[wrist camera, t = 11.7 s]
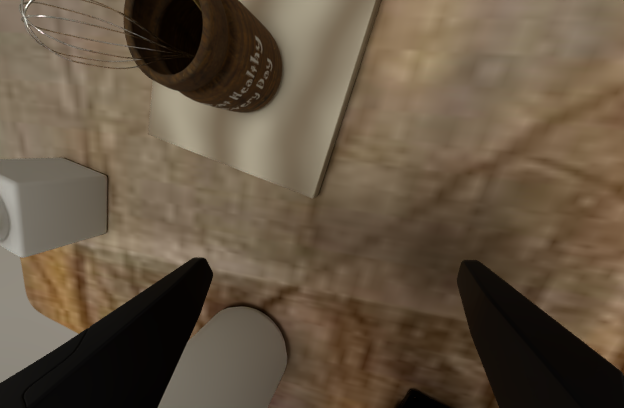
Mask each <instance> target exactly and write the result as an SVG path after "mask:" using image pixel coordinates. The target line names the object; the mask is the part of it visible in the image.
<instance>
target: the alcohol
mask: <svg viewBox="0 0 624 408" xmlns="http://www.w3.org/2000/svg"><path fill="white" fill-rule="evenodd" d="M286 365H287V352H286V346H285V341H284V338H283V335H282V333H281V331H280V330H279V328H278V327H277V325H276V324H275V323H274V322H273V321H272V320H271V319H270V318H269V317H268V316H267V315H265V314H264V313H262V312H261V311H259V310H256V309H254V308H250V307H244V306H239V307H231V308H226V309H224V310H221V311H220V312H219V313H217V314H216V315H215V316H214V317H213V318H212V319H211V320H210V321H209V322H208V323H207V324H206V325H205V326H204V327H202V328H201V329H200V330H199V331H198V332H197V333H196V334H195V335H194V336H193V337H192V338H191V339H190V340H189V341H188V342H187V344H186V347H185V349H184V351H183V353H182V355H181V358H180V360H179V362H178V364H177V366H176V368H175V371H174V373H173V375H172V377H171V379H170V382H169V384H168V386H167V388H166V390H165V393H164V395H163V397H162V399H161V401H160V404H159V406H158V408H268V406H269V404H270V401H271V399H272V397H273V395H274V393H275V391H276V389H277V386H278V384H279V382H280V380H281V378H282V376H283V374H284V372H285V369H286Z"/></svg>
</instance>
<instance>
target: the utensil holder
mask: <svg viewBox="0 0 624 408" xmlns="http://www.w3.org/2000/svg"><path fill="white" fill-rule="evenodd" d="M33 1H35V0H31V1H30V2H24V0H21V4H20V5H19V11H20V13H21V14H22V16H23V17H22V18H21V20H22V22H24V24H25V28H26V30H27V32H28V33H29V35H30V36H31V37H32V38H33V39H34V40H35V41H36V42H37V43H38V44H40V45H41V46H43V47H45V48H46V49H48V50H50V51H52V52H53V53H55V54H56V55H58V56H60V57H62V58H64V59H67V58H65V57H63V56H61V55H59V54H62V55H67V56H72V57H77V58H82V59H88V60H94V61H102V62H128V61H135V62H136V64H137V65H138V66H135V67H128V68H114V67H105V66H99V65H93V64H88V63H82V62H78V61H73V60H70V59H67V60H69V61H72V62H76V63H81V64H86V65H92V66H98V67H104V68H112V69H130V68H136V67H139V68H140V69H141V70H142V72H143V73H144V74H145V75H147V76H148V77H149V78H151V79H152V80H154V81H155V82H157V83H159V84H161V85H163V86H165V87H167V88H169V89H172V90H176V91H179V92H180V93H182V94H183V95H184V96H186V97H188V98H190V99H192V100H194V101H196V102H199V103H202V104H205V105H208V106H212V107H216V108H220V109H224V110H229V111H233V112H240V113H248V112H253V111H256V110H259V109H261V108H262V107H264V106H265V105H267V104H268V103H269V102H270V101H271V99H272V98H273V97H274V95H275V94H276V92H277V90H278V88H279V85H280V82H281V77H282V58H281V54H280V50H279V48H278V45H277V43H276V41H275V39H274V38H273V36H272V35H271V33H270V32H269V31H268V30H267V28H266V27H265V26H264V25H263V24H262V23H261V22H260V21H259V20H258V19H257V18H256V17H255V16H254V15H253V14H252V13H251V12H250V11H249V10H248V9H247V8H246V7H245V6H244V5H243V4H242V3H241V2H240V1H239V0H126V1H125V7H124V14H123V13H121V12H119V11H117V10H114V9H112V8H110V7H108V6H106V5H104V4H102V3H99V2H97V1H94V0H90V1H93V2H90V1H87V0H82V1H85V2H89V3H92V4H96V5H99V6H102V7H105V8H108V9H111V10H113V11H116V12H117V13H119V14H121V15H122V16H124V28H121V27H119V26H117V25H114V24H112V23H109V22H107V21H104V20H101V19H99V18H96V17H93V16H90V15H86V14H83V13H80V12H76V11H72V10H69V9H65V8H61V7H58V6H54V5H50V4H45V3H40V2H33ZM23 2H24V3H23ZM94 2H96V3H94ZM31 3H37V4H43V5H48V6H52V7H56V8H60V9H64V10H68V11H71V12H75V13H79V14H82V15H86V16H89V17H92V18H95V19H98V20H101V21H104V22H106V23H109V24H111V25H114V26H116V27H119V28H121V29H123V30H124V31H125V33H124V32H120V31H116V30H113V29H109V28H105V27H101V26H97V25H93V24H89V23H85V22H81V21H76V20H71V19H66V18H60V17H53V16H43V15H29V16H26V12H27V9H28V7H29V5H30V4H31ZM97 3H98V4H97ZM24 4H27V6H26V7H25V10H24V9H23V5H24ZM100 4H101V5H100ZM21 9H22V11H21ZM28 17H47V18H56V19H63V20H69V21H74V22H79V23H83V24H87V25H91V26H95V27H99V28H103V29H107V30H111V31H115V32H119V33H123V34H125V37H126V41H127V45H128V46H126V45H119V44H113V43H107V42H102V41H96V40H92V39H87V38H82V37H77V36H73V35H68V34H64V33H59V32H55V31H51V30H47V29H43V28H40V27H36V26H34V25H33V24H31V23H30V22H29V21H28V20H27V18H28ZM23 19H24V21H23ZM28 23H29V24H28ZM26 24H27V25H26ZM29 25H30V26H32V27H34V28H35V29H37V30H38V31H40V32H41V33H43V34H45V35H46V36H48V37H50V38H52V39H54V40H56V41H58V42H61V43H63V44H65V45H68V46H71V47H74V48H77V49H80V50H85V51H89V52H94V53H99V54H104V55H109V56H114V57H120V58H127V59H134V60H126V61H104V60H95V59H89V58H83V57H78V56H73V55H68V54H63V53H59V52H56V51H54V50H51V49H49V48H48V47H47V46H46V45H44V44H43V43H42V42H41V41H40V40H39V39H38V38H37V37H36V35H35V34H34V33H33V31H32V30H31V28H30V26H29ZM27 26H28V28H29V30H30V31H31V32H32V34H33V35H34V36H35V38H36V39H37V40H38V41H39V42H40V43H39V42H38V41H37V40H36V39H35V38H34V37H33V36H32V35H31V34H30V32H29V30H28V28H27ZM39 29H42V30H46V31H50V32H54V33H58V34H63V35H67V36H72V37H76V38H81V39H86V40H91V41H96V42H101V43H107V44H113V45H119V46H125V47H128V48H129V50H130V53H131V55H132V57H133V58H129V57H122V56H116V55H110V54H105V53H100V52H95V51H91V50H86V49H82V48H78V47H75V46H72V45H69V44H67V43H64V42H62V41H59V40H57V39H55V38H53V37H51V36H49V35H47V34H46V33H44V32H42V31H41V30H39ZM57 53H58V54H57Z"/></svg>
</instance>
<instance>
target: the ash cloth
mask: <svg viewBox="0 0 624 408" xmlns="http://www.w3.org/2000/svg"><path fill="white" fill-rule="evenodd" d="M239 1H240V2H241V3H242V4H243V5H244V6H245V7H246V8H247V9H248V10H249V11H250V12H251V13H252V14H253V15H254V16H255V17H256V18H257V19H258V20H259V21H260V22H261V23H262V24H263V25H264V26H265V27H266V28H267V30H268V31H269V32H270V33H271V35H272V36H273V38H274V39H275V41H276V43H277V45H278V48H279V50H280V54H281V58H282V77H281V82H280V85H279V88H278V90H277V92H276V94H275V95H274V97H273V98H272V99H271V101H270V102H269V103H268V104H267V105H265V106H264V107H262V108H261V109H259V110H256V111H253V112H248V113H240V112H233V111H229V110H224V109H220V108H216V107H212V106H208V105H205V104H202V103H199V102H196V101H194V100H192V99H190V98H188V97H186V96H184V95H183V94H182V93H180V92H179V91H176V90H172V89H169V88H167V87H165V86H163V85H161V84H159V83H157V82H155V81H154V80H153V82H152V93H151V105H150V116H149V127H148V135H151V136H153V137H156V138H158V139H161V140H163V141H166V142H169V143H171V144H174V145H176V146H179V147H181V148H184V149H187V150H189V151H192V152H194V153H197V154H199V155H202V156H205V157H207V158H210V159H212V160H215V161H217V162H220V163H223V164H225V165H228V166H230V167H233V168H235V169H238V170H241V171H243V172H246V173H248V174H251V175H253V176H256V177H259V178H261V179H264V180H266V181H269V182H271V183H274V184H277V185H279V186H282V187H284V188H287V189H289V190H292V191H295V192H297V193H300V194H302V195H305V196H308V197H310V198H314V197H316V196H317V195H318V194H319V191H320V188H321V185H322V182H323V179H324V175H325V172H326V169H327V166H328V163H329V160H330V157H331V154H332V151H333V148H334V145H335V141H336V138H337V135H338V132H339V129H340V126H341V123H342V120H343V117H344V114H345V111H346V108H347V104H348V101H349V98H350V95H351V92H352V89H353V86H354V83H355V80H356V77H357V74H358V70H359V67H360V64H361V61H362V58H363V55H364V52H365V49H366V46H367V43H368V40H369V36H370V33H371V30H372V27H373V24H374V21H375V18H376V15H377V12H378V9H379V6H380V3H381V0H239Z"/></svg>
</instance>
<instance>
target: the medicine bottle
mask: <svg viewBox="0 0 624 408" xmlns="http://www.w3.org/2000/svg"><path fill="white" fill-rule="evenodd" d="M106 231H107V176H106V175H104V174H101V173H99V172H96V171H94V170H92V169H89V168H87V167H84V166H82V165H79V164H77V163H74V162H72V161H69V160H67V159H64V158H25V159H0V246H1V247H3V248H5V249H7V250H8V251H10V252H12V253H14V254H16V255H17V256H19V257H28V256H31V255H35V254H38V253H41V252H45V251H48V250H51V249H55V248H58V247H62V246H65V245H68V244H72V243H75V242H79V241H82V240H85V239H89V238H92V237H96V236H99V235H102V234H105V233H106Z"/></svg>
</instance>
